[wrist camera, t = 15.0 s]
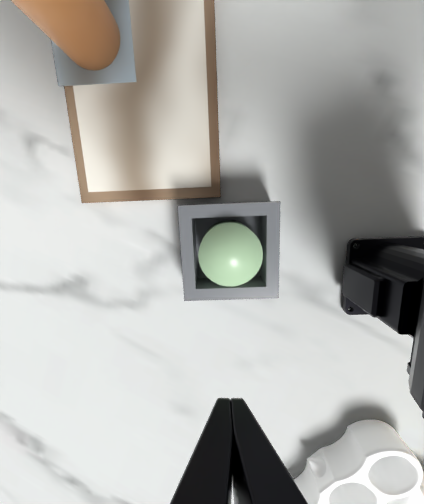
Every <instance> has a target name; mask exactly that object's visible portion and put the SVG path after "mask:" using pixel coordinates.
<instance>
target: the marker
mask: <svg viewBox="0 0 424 504" xmlns="http://www.w3.org/2000/svg"><path fill="white" fill-rule="evenodd" d="M11 1H12V2H13V3H14V4H15V5H16V6H17V7H18V8H19V9H20V10H21V11H22V12H23V13H24V14H25V15H26V16H27V17H28V18H29V19H30V20H31V21H33V22H34V23H35V24H36V25H37V26H38V27H39V28H40V29H41V30H42V31H43V32H44V33H45V34H46V35H47V36H48V37H49V38H50V39H51V40H52V41H53V42H54V43H55V44H56V45H57V46H58V47H59V48H60V49H61V50H62V51H63V52H64V53H65V54H66V55H68V56H69V57H70V58H71V59H72V60H73V61H74V62H75V63H76V64H77V65H79V66H80V67H82V68H84V69H87V70H94V71H95V70H101V69H104V68H106V67H107V66H109V65H110V64H111V63H112V62H113V61H114V59H115V58H116V56H117V54H118V51H119V47H120V32H119V28H118V25H117V22H116V20H115V18H114V17H113V15H112V13H111V11H110V10H109V8H108V6H107V4H106V3H105V1H104V0H11Z"/></svg>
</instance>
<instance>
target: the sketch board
mask: <svg viewBox="0 0 424 504" xmlns="http://www.w3.org/2000/svg"><path fill="white" fill-rule="evenodd" d="M104 1H105V3H106V4H107V6H108V8H109V10H110V11H111V13H112V15H113V17H114V18H115V20H116V22H117V25H118V28H119V32H120V47H119V51H118V54H117V56H116V58H115V59H114V61H113V62H112V63H111V64H110V65H109V66H107V67H106V68H104V69H101V70H95V71H94V70H87V69H84V68H82V67H80V66H79V65H77V64H76V63H75V62H74V61H73V60H72V59H71V58H70V57H69V56H68V55H66V54H65V53H64V52H63V51H62V50H61V49H60V48H59V47H58V46H57V45H56V44H55V43H54V42H53V41H52V40H51V42H52V49H53V55H54V62H55V68H56V74H57V81H58V86H64V89H65V95H66V102H67V109H68V115H69V122H70V128H71V135H72V142H73V148H74V155H75V161H76V168H77V174H78V181H79V188H80V194H81V201H82V203H95V202H118V201H142V200H165V199H189V198H212V197H221V193H220V162H219V131H218V101H217V70H216V39H215V9H214V0H104Z"/></svg>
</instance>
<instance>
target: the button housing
mask: <svg viewBox="0 0 424 504" xmlns="http://www.w3.org/2000/svg"><path fill="white" fill-rule="evenodd" d="M178 217H179V232H180V246H181V260H182V274H183V289H184V301H197V300H231V299H265V298H279V244H280V201H269V202H245V203H221V204H197V205H180V206H178ZM225 220H233V221H237V222H240V223H242V224H244V225H245V226H246V227H248V228H249V229H250V230H251V231H252V232H253V233H254V234H255V235H256V236H257V238H258V239H259V241H260V243H261V246H262V250H263V260H262V264H261V267H260V269H259V271H258V272H257V274H256V275H255V276H254V277H253V278H252V279H251V280H249V281H248V282H246V283H244V284H242V285H238V286H232V287H231V286H222V285H219V284H217V283H215V282H213V281H211V280H210V279H209V278H208V277H207V276H206V275H205V274H204V272H203V271H202V269H201V267H200V264H199V258H198V253H199V247H200V244H201V242H202V239H203V237H204V235H205V233H206V231H207V230H208V229H209V228H210V227H211V226H213V225H214V224H216V223H218V222H220V221H225Z"/></svg>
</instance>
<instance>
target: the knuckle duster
mask: <svg viewBox="0 0 424 504" xmlns="http://www.w3.org/2000/svg"><path fill="white" fill-rule="evenodd" d="M294 482H295V483H296V485H297V487H298V488H299V490H300V491H301V493H302V495H303V496H304V498H305V500H306V501H307V503H308V504H424V471H423V470H422V466H421V464H420V462H419V460H418V459H417V458H416V456H415V455H414V454H413V452H412V451H411V450H410V449H409V447H408V446H407V445H406V443H405V442H404V441H403V440H402V438H401V437H400V436H399V434H398V433H397V432H396V431H395V429H394V428H393V427H392V426H390V425H389V424H387V423H385V422H383V421H379V420H373V419H368V420H361V421H357V422H355V423H352V424H350V425H349V426H347V429H346V431H345V433H344V435H343V436H342V437H341V438H340V439H339V440H338V441H336V442H335V443H333V444H331V445H329V446H325V447H321V448H320V449H319V450H317V451H316V452H315V453H314V454H312V455H311V456H310V457H309V458H307V464H306V467H305V469H304V471H303V472H302V473H301V475H299V476H298V477H297V478H295V479H294Z"/></svg>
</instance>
